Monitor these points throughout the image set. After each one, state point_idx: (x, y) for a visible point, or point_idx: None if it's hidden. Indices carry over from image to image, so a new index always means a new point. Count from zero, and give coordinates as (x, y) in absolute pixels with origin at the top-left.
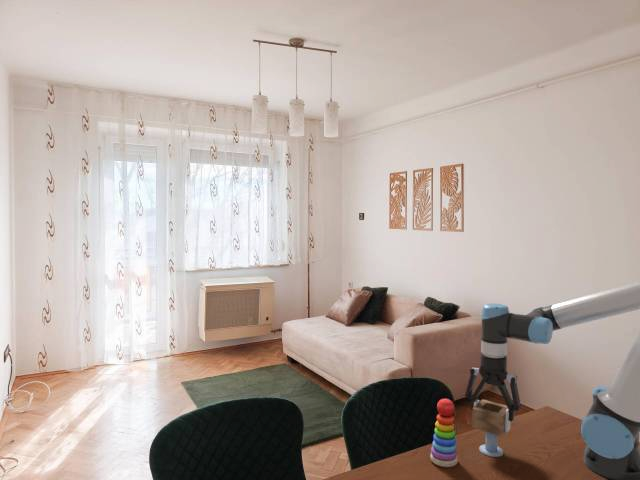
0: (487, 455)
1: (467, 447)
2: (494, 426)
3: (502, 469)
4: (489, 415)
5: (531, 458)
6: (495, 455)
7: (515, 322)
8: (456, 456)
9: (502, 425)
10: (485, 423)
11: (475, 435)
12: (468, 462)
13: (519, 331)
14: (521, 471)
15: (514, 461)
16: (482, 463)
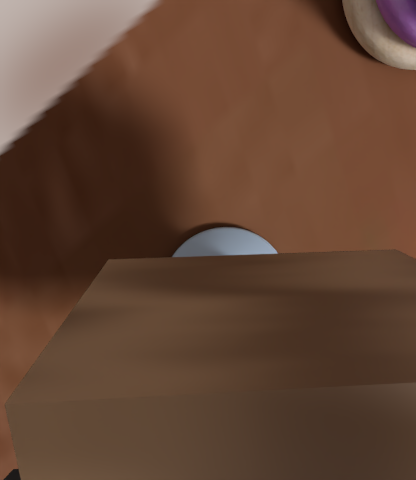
0: (224, 227)
1: (341, 242)
2: (180, 287)
3: (103, 132)
4: (274, 357)
5: (37, 347)
6: (185, 246)
7: None
8: (367, 9)
9: (75, 316)
10: (291, 284)
11: None
12: (287, 76)
13: None
14: (16, 183)
15: (89, 262)
16: (217, 122)
